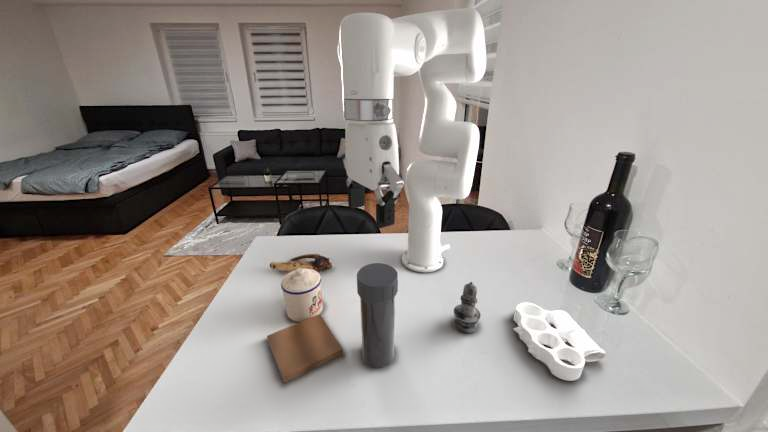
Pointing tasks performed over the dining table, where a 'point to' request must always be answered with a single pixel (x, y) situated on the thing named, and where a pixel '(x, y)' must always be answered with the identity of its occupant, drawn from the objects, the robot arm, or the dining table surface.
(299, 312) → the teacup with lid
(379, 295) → the thermos lid
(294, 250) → the dining table surface
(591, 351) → the white brass knuckles
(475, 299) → the dark stone figurine
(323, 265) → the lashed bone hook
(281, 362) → the coaster
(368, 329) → the thermos
